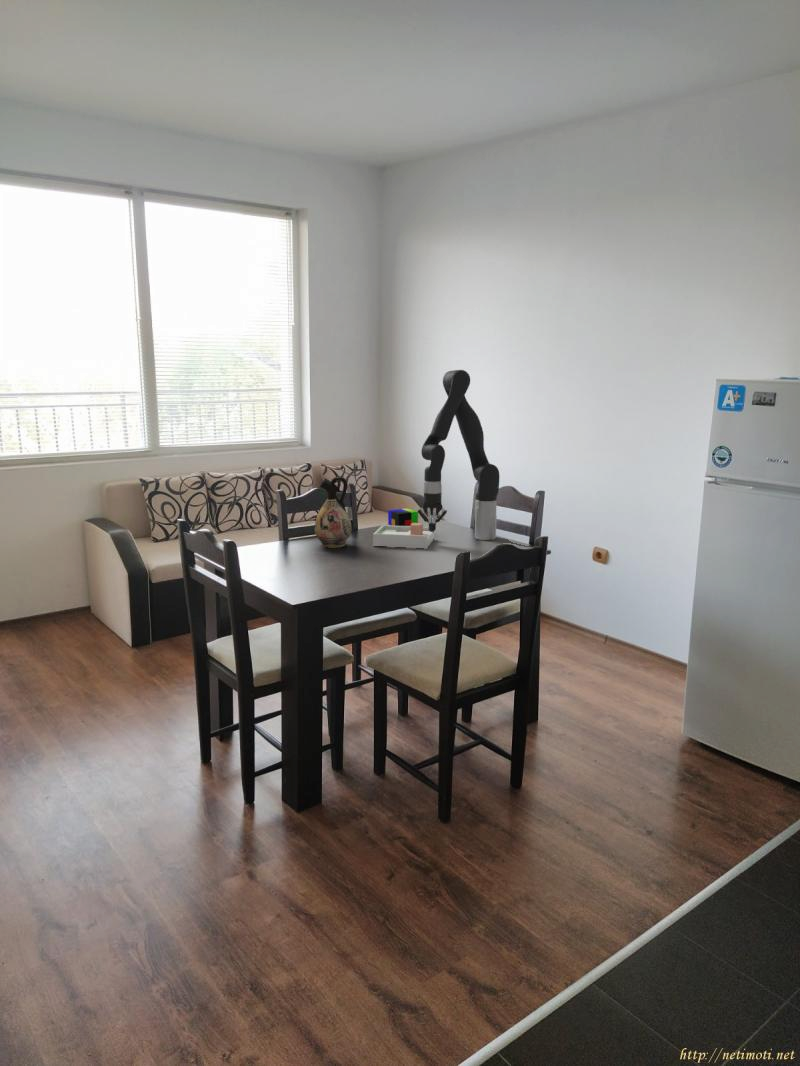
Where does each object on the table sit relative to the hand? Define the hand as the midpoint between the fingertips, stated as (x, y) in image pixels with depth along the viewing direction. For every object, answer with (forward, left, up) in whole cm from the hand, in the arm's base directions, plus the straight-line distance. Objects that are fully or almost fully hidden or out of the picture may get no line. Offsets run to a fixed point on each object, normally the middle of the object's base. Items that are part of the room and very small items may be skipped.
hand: (432, 531), depth 326 cm
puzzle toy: (+17, -21, -6) cm, 28 cm away
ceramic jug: (+40, +11, -6) cm, 42 cm away
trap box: (+12, 0, -6) cm, 14 cm away
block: (+7, 0, -2) cm, 7 cm away
